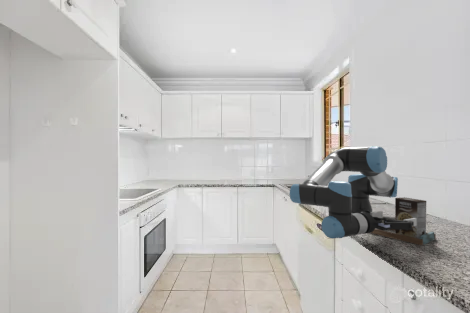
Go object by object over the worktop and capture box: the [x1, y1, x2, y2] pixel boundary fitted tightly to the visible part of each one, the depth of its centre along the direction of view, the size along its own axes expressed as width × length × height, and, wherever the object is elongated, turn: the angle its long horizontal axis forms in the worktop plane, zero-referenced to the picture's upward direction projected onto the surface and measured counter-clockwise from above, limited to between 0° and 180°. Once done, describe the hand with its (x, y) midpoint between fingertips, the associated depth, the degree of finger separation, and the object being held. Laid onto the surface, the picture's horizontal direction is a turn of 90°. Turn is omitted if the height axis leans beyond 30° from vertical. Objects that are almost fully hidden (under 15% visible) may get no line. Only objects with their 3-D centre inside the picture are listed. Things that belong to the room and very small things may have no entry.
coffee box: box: [394, 196, 427, 239], centre depth 106 cm, size 9×6×16 cm
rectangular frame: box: [370, 228, 437, 246], centre depth 110 cm, size 13×22×3 cm, turn 34°
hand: (397, 217), depth 102 cm, fingers open, 13 cm apart
